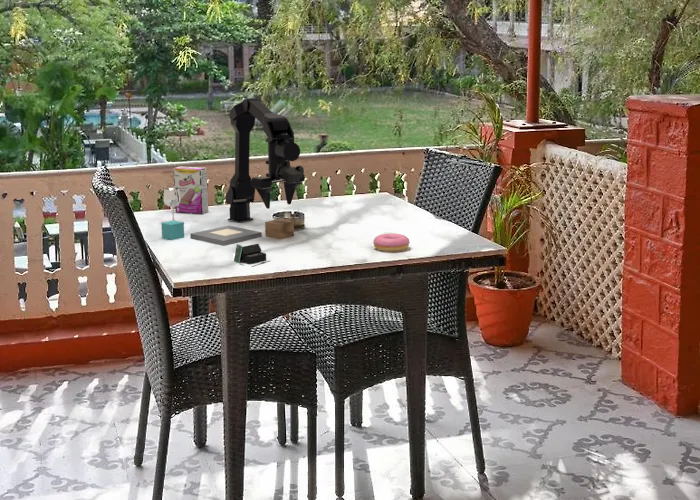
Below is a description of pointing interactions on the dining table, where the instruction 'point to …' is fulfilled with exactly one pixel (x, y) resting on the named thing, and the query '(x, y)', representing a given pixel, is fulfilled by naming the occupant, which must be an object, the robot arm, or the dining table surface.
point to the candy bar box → (191, 189)
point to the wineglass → (172, 198)
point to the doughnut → (391, 242)
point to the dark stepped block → (249, 254)
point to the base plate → (226, 235)
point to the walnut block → (279, 229)
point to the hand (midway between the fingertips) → (278, 206)
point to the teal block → (172, 230)
